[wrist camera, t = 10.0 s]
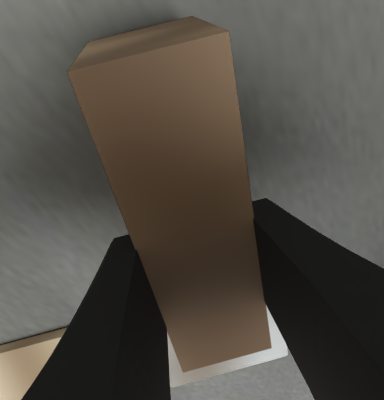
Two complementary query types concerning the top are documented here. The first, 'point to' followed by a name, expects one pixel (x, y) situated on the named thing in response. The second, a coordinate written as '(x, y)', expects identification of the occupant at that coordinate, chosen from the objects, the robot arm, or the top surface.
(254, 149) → the top surface
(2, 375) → the tan flat rectangular piece
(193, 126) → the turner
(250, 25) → the top surface
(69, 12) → the top surface
